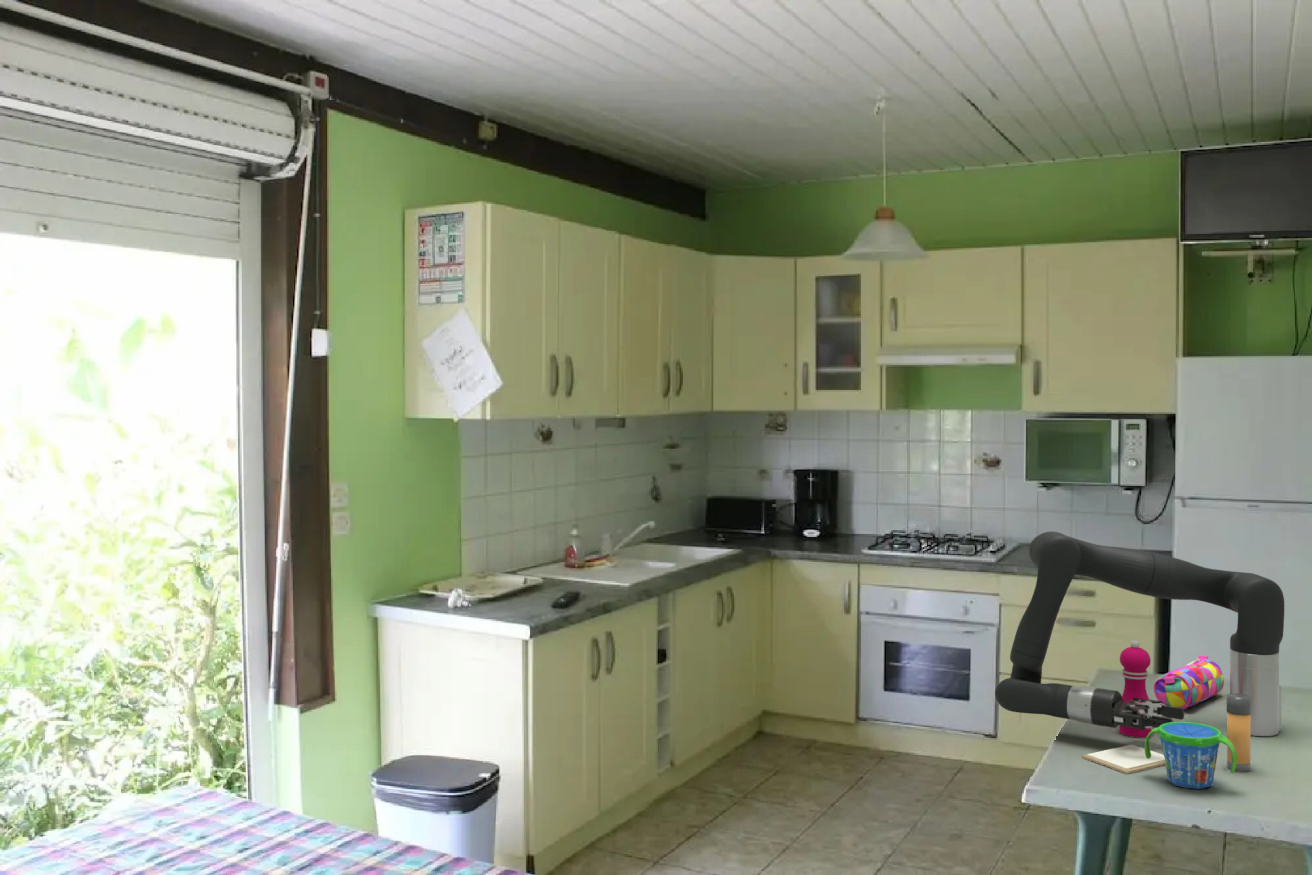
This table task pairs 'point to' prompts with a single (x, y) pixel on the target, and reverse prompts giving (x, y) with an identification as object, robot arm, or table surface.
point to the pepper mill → (1134, 681)
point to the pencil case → (1189, 683)
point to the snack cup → (1190, 752)
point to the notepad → (1127, 759)
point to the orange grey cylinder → (1239, 730)
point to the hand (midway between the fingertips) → (1178, 719)
